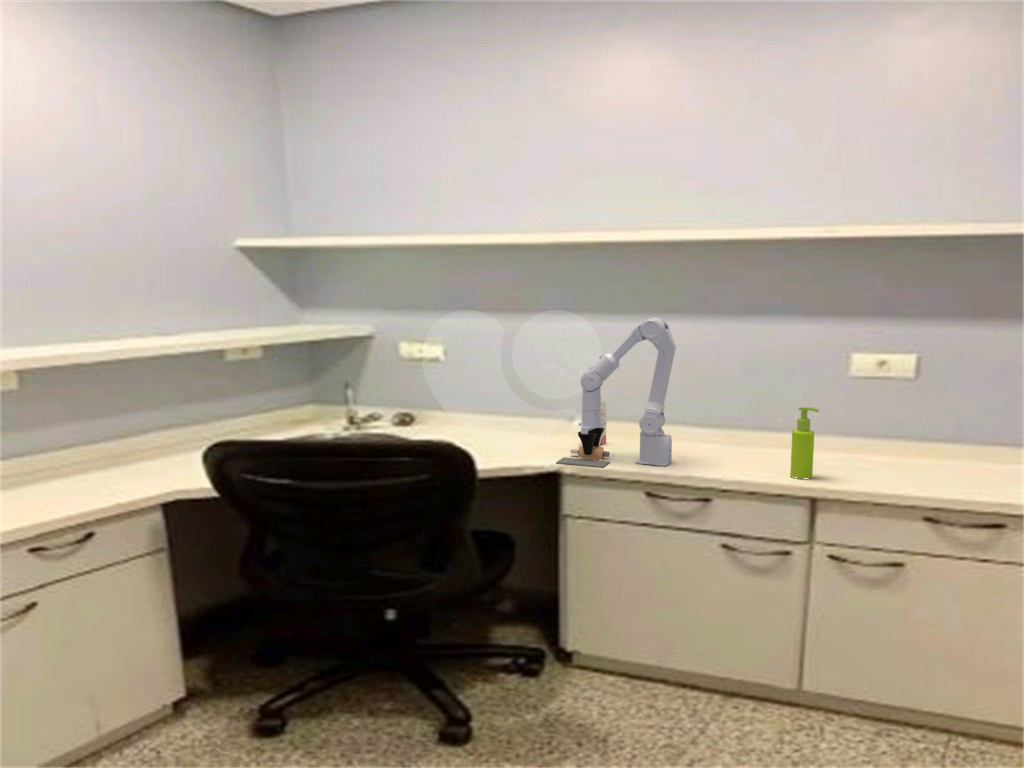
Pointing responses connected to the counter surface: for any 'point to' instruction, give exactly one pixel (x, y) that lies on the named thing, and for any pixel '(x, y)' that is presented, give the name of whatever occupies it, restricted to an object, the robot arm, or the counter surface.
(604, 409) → the ink cartridge box
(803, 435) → the soap dispenser
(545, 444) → the counter surface
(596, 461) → the mat
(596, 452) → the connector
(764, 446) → the counter surface
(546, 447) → the counter surface
